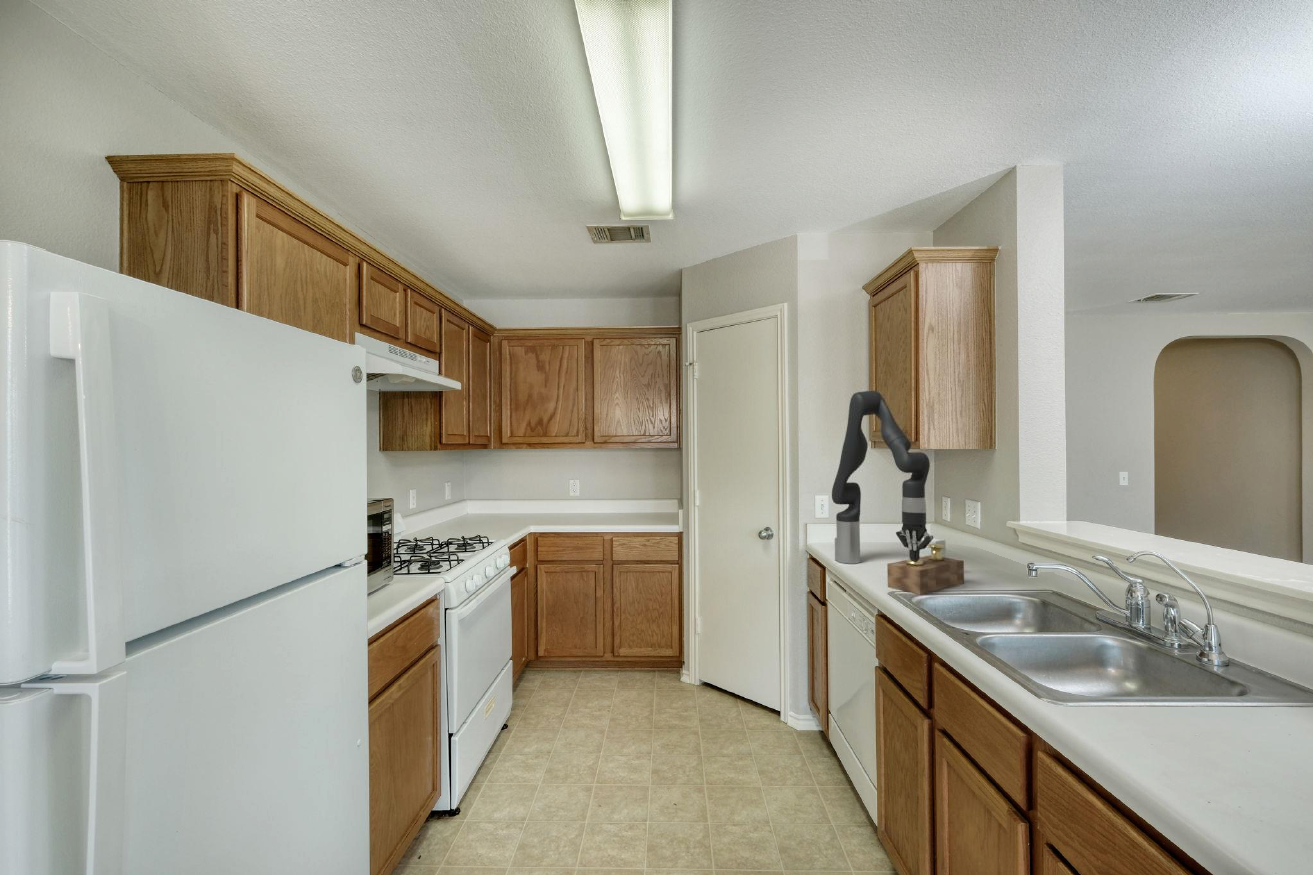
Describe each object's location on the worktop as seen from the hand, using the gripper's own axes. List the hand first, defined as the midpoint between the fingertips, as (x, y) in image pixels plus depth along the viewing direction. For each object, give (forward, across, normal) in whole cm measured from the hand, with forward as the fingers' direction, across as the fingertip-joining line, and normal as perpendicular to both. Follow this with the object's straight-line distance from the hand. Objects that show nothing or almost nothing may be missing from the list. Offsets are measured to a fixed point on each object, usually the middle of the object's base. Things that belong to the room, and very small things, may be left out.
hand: (914, 560), depth 186 cm
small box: (+10, -9, +24) cm, 28 cm away
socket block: (+9, 0, +6) cm, 11 cm away
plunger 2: (+4, 0, +13) cm, 14 cm away
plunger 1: (+8, 0, 0) cm, 8 cm away
